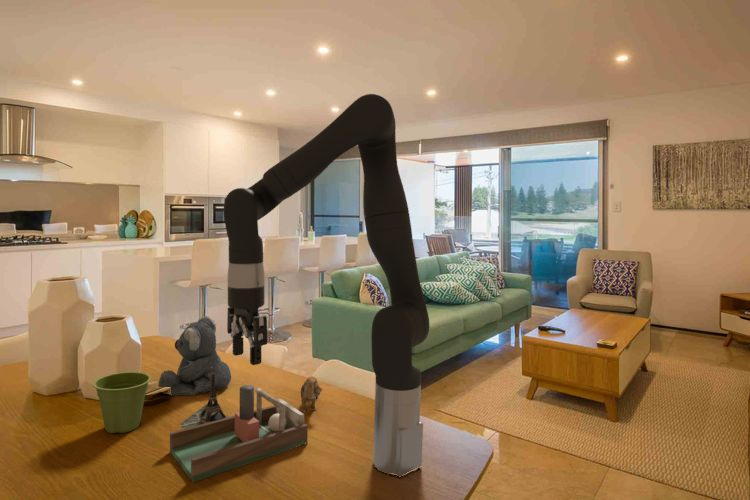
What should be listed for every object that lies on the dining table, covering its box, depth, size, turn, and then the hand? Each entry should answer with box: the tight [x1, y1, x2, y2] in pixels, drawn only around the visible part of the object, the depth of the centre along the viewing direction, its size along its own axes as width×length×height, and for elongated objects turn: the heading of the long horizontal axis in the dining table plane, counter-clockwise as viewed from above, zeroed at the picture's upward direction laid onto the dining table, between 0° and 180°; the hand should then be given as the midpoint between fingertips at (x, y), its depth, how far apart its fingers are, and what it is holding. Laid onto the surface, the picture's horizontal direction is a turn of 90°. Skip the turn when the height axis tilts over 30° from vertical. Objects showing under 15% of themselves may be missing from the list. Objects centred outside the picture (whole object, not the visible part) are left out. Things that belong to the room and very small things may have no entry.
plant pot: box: [92, 371, 152, 434], centre depth 111 cm, size 12×12×11 cm
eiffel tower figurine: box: [180, 370, 228, 429], centre depth 118 cm, size 15×10×13 cm
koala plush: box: [157, 315, 232, 397], centre depth 137 cm, size 17×18×20 cm
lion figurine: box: [300, 375, 323, 412], centre depth 127 cm, size 15×5×9 cm, turn 11°
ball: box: [268, 413, 286, 432], centre depth 109 cm, size 4×4×4 cm
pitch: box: [169, 387, 309, 483], centre depth 103 cm, size 14×25×10 cm, turn 130°
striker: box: [234, 384, 259, 443], centre depth 104 cm, size 7×3×12 cm, turn 40°
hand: (246, 359), depth 103 cm, fingers open, 8 cm apart
